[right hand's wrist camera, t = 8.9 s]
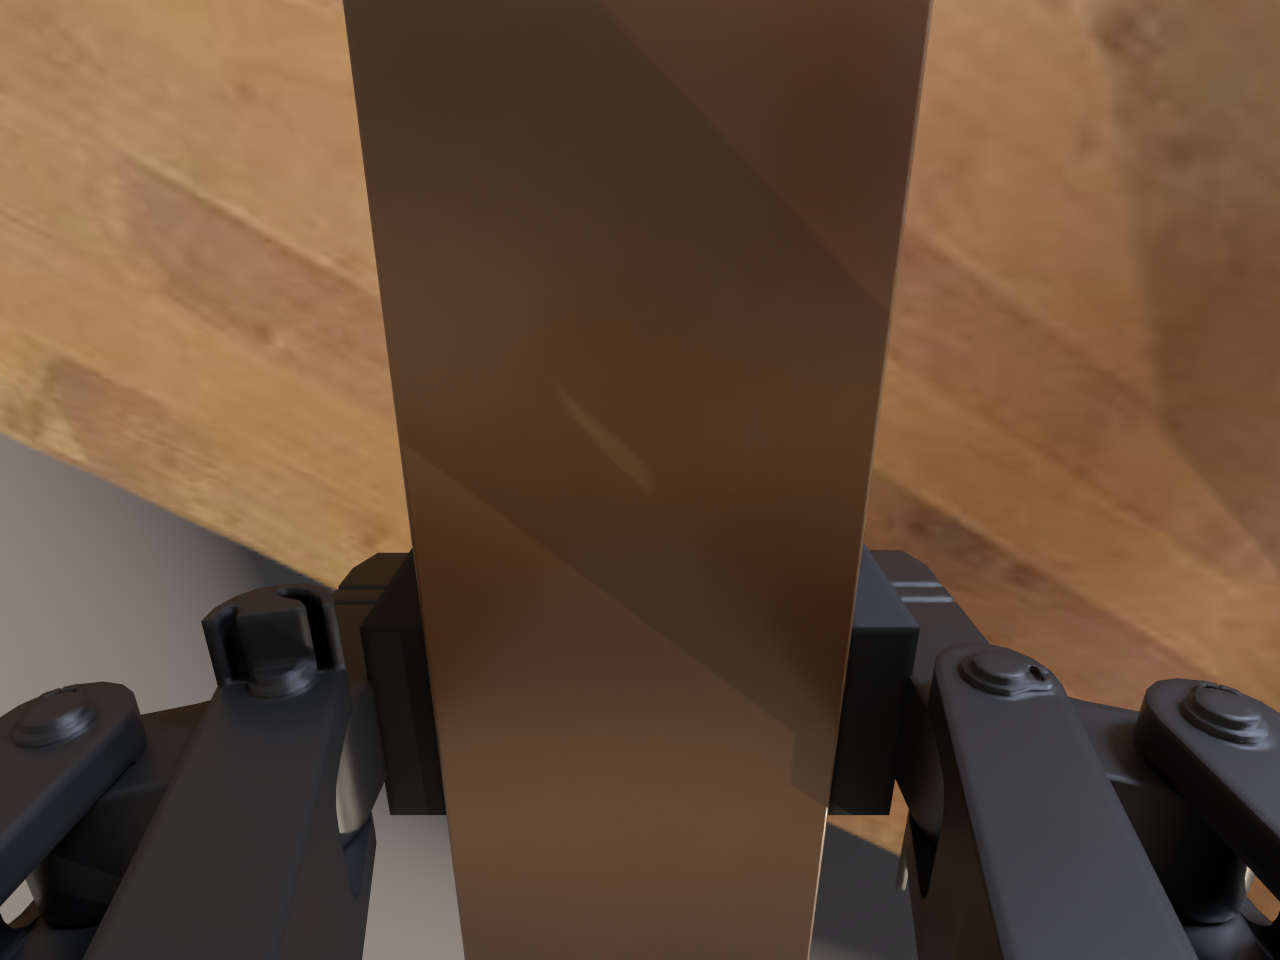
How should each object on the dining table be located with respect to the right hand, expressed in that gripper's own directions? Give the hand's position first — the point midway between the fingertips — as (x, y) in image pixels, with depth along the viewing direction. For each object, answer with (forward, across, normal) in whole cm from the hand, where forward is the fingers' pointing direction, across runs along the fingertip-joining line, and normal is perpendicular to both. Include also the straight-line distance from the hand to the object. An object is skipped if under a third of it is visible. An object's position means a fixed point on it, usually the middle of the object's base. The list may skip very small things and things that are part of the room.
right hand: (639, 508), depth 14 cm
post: (+1, 0, -23) cm, 23 cm away
